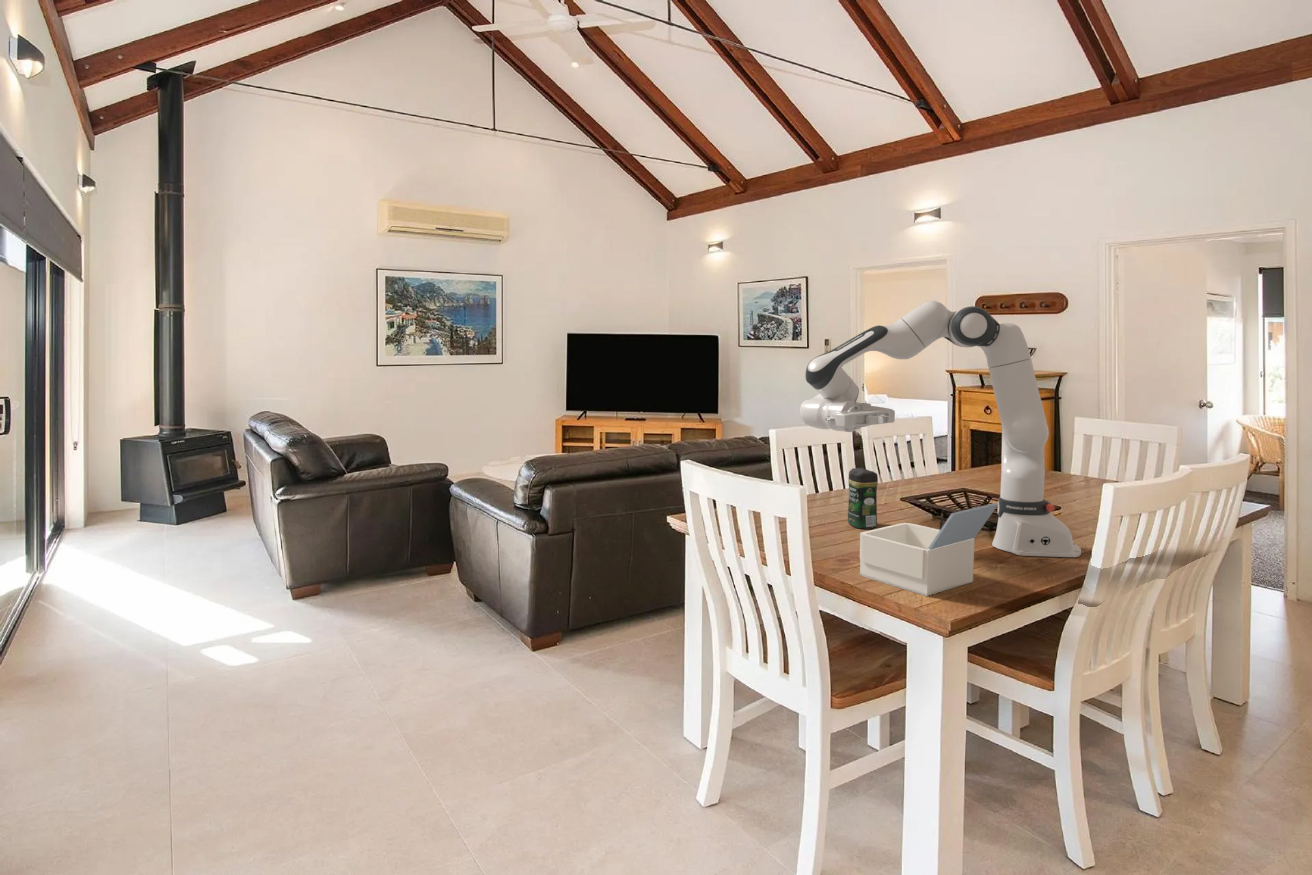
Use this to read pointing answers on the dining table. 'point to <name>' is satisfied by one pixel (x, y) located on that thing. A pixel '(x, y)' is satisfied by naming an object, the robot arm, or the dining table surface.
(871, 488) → the coffee jar
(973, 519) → the lid flap
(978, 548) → the dining table surface
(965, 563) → the carton
